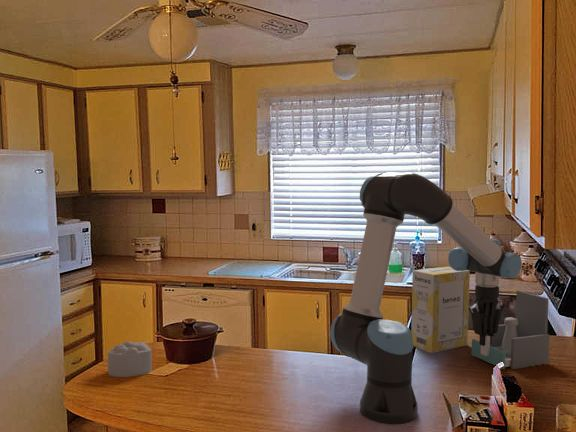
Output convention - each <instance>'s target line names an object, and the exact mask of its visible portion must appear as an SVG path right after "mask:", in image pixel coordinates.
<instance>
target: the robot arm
mask: <svg viewBox="0 0 576 432" xmlns="http://www.w3.org/2000/svg"><path fill="white" fill-rule="evenodd" d="M359 201H360V202H361V203H360V204H361V206H362V207H363V209H364V210H363V214H362V215H363V216H364V218H365V220H366V225H365V229H364V234H363V239H362V242H361V248H360V254H359V258H358V261H357V268H356V271H355V277H354V281H353V285H352V290H351V294H350V295H351V296H350V300H349V302H348V303H347V304H346V305H344V306H343V308H342V311H341V313H340V314H338V315H337V316H336V317H335V318H334V319H333V320H332V323H331V326H330V331H329V335H330V340H331V342H332V345H333V347H334V348H335V349H336V350H337V351H338V352H340V353H341V354H342V355H344V356H345V357H348V358H351V359H353V360H355V361H358V362H359V363H362V364H364V365H366V369H367V371H366V384H365V386H364V389H363V392H362V395H361V398H360V400H359V411H360V413H361V414H362V415H363V417H366V418H367V419H370V420H371V421H375V422H379V423H382V424H383V423H384V424H405V423H409V422H411V421H414V420H415V419H416V418H417V417H418V412H419V411H418V409H419V407H418V406H419V405H418V401H417V398H416V395H415V393H414V389H413V385H412V381H413V380H412V379H413V378H412V375H413V355H414V353H413V351H414V346H413V342H412V333H411V329H410V328H409V327H408V326H407V325H405V324H404V323H403V322H400V321H395V320H390V319H384V315H383V313H382V312H381V309H380V307H381V304H382V303H381V302H382V299H383V298H382V297H383V294H384V289H385V284H386V281H387V280H386V279H387V274H388V270H389V269H388V268H389V264H390V260H391V255H392V250H393V246H394V241H395V236H396V231H397V228H398V227H399V226H401V225H402V224H403V223H404V220H405V215H407V216H411V217H415V218H418V219H421V220H422V221H423V222H425V223H426V224H428V225H431V226H432V225H435V226H436V228H438V229H439V230H440V231H441V232H443V233H444V235H446V236H447V237H448V238H450V240H452V241H453V242H454V243H456V244H457V245H458V246H459V247H454V248H452V249H451V250H450V251H449V253H448V254H447V255H448V257H447V263H448V265H449V267H451V268H452V269H454V270H456V271H465V270H469V271H470V272H474V273H475V278H474V279H475V281H474V282H475V284H476V285H475V286H474V295H475V301H474V304H473V305H472V306H471V305H469V313H470V314H471V320H472V325H473V326H472V327H473V331H474V333H475V335H479V341H480V342H479V343H480V345H481V354H483V355H485V356H490V345H491V340H492V336H494V333H497V330H498V326H499V325H500V321H501V315H502V312H503V310H504V309H505V305H504V304H501V303H499V299H498V298H499V297H500V286H499V285H500V278H502V279H503V278H506V279H507V278H509V279H514V278H517V276H519V274H520V273H521V270H522V267H523V264H522V262H523V261H522V259H521V257H520V255H518V254H517V253H513V252H511V251H505V250H504V249H503V248H502V247H501V241H500V240H499V239H497V238H491V237H489V235H487V234H486V233H485V232H484V231H483V230H482V229H481V228H479V226H478V225H476V224H475V223H474V222H473V221H472V220H471V219H470V218H469V217H468V216H466V214H464V213H463V212H462V211H461V210H460V209H459V208H458V207H456V206H455V205H454V201H453V198H452V197H451V196H450V195H449V194H448V193H447V192H446V191H445V190H444V189H442V188H441V187H440V186H438V185H437V184H436V183H434V182H433V181H431V180H430V179H429V178H426V177H425V176H422V175H421V174H418V173H415V172H387V171H386V172H385V171H384V172H379V173H374V174H372V175H370V176H369V177H367V178H366V179H365V180H364V181H363V183H362V185H361V186H360V190H359Z"/></svg>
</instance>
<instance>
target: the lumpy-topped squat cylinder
mask: <svg viewBox="0 0 576 432" xmlns="http://www.w3.org/2000/svg"><path fill="white" fill-rule="evenodd" d="M152 358H153V357H152V348H151V347H150V346H149V345H148V343H144V342H143V341H137V342H133V341H130V340H128V341H124V342H123V343H121V344H117V345H115V346H114V347H113V348H111V349H109V350H108V351H107V373H108V374H107V375H108V376H110V377H113V378H114V377H115V378H131V377H137V376H143V375H146V374H150V373H151V372H152V369H153V366H152V365H153V364H152V362H153V361H152V360H153V359H152Z"/></svg>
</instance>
